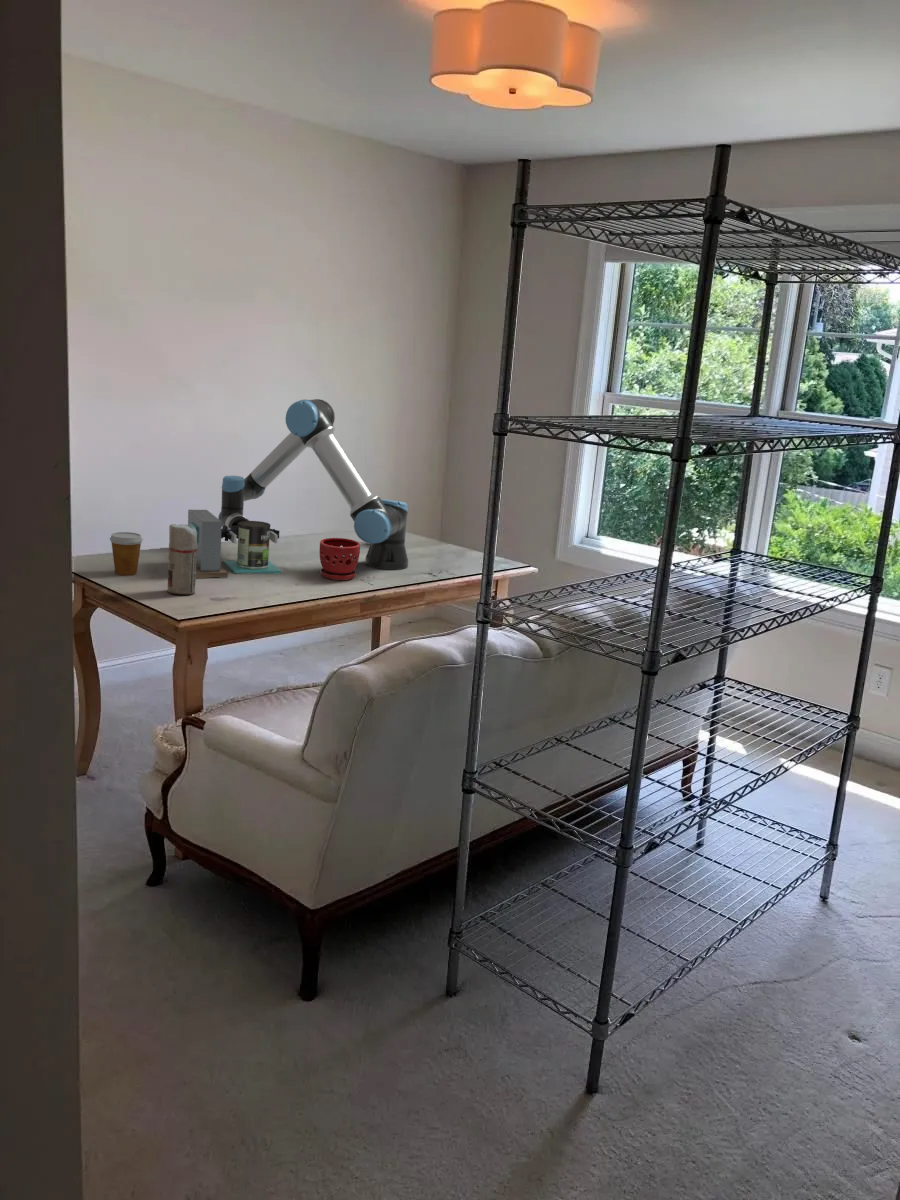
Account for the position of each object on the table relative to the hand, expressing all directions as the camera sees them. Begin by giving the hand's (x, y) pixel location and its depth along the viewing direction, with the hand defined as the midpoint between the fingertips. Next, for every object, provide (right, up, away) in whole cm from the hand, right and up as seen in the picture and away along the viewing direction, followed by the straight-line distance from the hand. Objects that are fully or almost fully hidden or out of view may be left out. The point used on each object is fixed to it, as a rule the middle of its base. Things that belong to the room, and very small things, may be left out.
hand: (256, 539), depth 319 cm
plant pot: (+26, -12, +4) cm, 29 cm away
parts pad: (-2, -9, +5) cm, 11 cm away
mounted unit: (-17, -10, -2) cm, 19 cm away
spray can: (-16, -18, -32) cm, 40 cm away
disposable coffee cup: (-37, -12, -16) cm, 42 cm away
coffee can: (-2, -9, +5) cm, 10 cm away
